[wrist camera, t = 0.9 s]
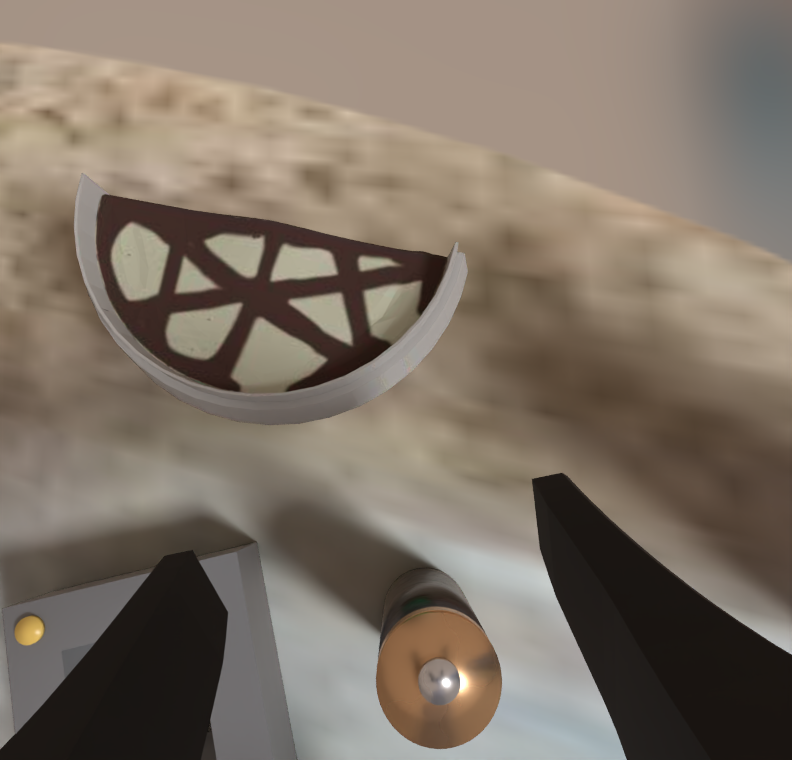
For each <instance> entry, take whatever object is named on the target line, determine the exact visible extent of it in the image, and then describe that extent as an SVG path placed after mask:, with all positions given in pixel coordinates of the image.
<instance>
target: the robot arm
mask: <svg viewBox="0 0 792 760" xmlns="http://www.w3.org/2000/svg"><path fill="white" fill-rule="evenodd" d="M532 483H533V492H534V501H535V509H536V518H537V527H538V535H539V544H540V550H541V553H542V556H543V559H544V562H545V565H546V568H547V572H548V575H549V577H550V580H551V583H552V586H553V589H554V592H555V595H556V597H557V600H558V602H559V604H560V606H561V609H562V611H563V613H564V615H565V617H566V620H567V622H568V624H569V626H570V628H571V631H572V633H573V635H574V637H575V639H576V641H577V644H578V646H579V648H580V650H581V652H582V654H583V657H584V659H585V661H586V663H587V665H588V667H589V670H590V672H591V674H592V676H593V678H594V681H595V683H596V685H597V687H598V689H599V691H600V694H601V696H602V698H603V700H604V702H605V704H606V707H607V709H608V712H609V714H610V716H611V719H612V721H613V724H614V726H615V728H616V731H617V734H618V736H619V739H620V742H621V745H622V747H623V750H624V753H625V756H626V758H627V760H792V655H791V654H790V653H788V652H786V651H784V650H783V649H781V648H779V647H778V646H776V645H775V644H773V643H771V642H770V641H768V640H767V639H765V638H764V637H762V636H761V635H759V634H758V633H756V632H755V631H753V630H752V629H750V628H749V627H747V626H745V625H744V624H742V623H741V622H739V621H738V620H736V619H735V618H734V617H732V616H731V615H729V614H728V613H726V612H725V611H723V610H722V609H721V608H719V607H718V606H716V605H715V604H713V603H712V602H711V601H709V600H708V599H707V598H705V597H704V596H702V595H701V594H700V593H698V592H697V591H696V590H694V589H693V588H692V587H690V586H689V585H688V584H686V583H685V582H684V581H682V580H681V579H680V578H679V577H677V576H676V575H675V574H674V573H672V572H671V571H670V570H669V569H667V568H666V567H665V566H663V565H662V564H661V563H660V562H659V561H657V560H656V559H655V558H654V557H653V556H651V555H650V554H649V553H648V552H646V551H645V550H644V549H643V548H642V547H641V546H640V545H638V544H637V543H636V542H635V541H634V540H633V539H632V538H630V537H629V536H628V535H627V534H626V533H625V532H624V531H622V530H621V529H620V528H619V527H618V526H617V525H616V524H615V523H614V522H613V521H611V520H610V519H609V518H608V517H607V516H606V515H605V514H604V513H603V512H602V511H601V510H600V509H599V508H598V507H597V506H596V505H595V504H594V503H593V502H592V501H591V500H590V499H589V498H588V497H587V496H586V495H585V494H584V493H583V492H582V491H581V490H580V489H579V488H578V487H577V486H576V485H575V484H574V483H573V482H572V481H571V480H570V478H569V477H568V476H566V475H565V474H563V473H559V474H554V475H549V476H544V477H539V478H535V479H532ZM227 621H228V611H227V609H226V607H225V606H224V604H223V602H222V600H221V599H220V597H219V595H218V593H217V592H216V590H215V588H214V587H213V585H212V583H211V581H210V580H209V578H208V576H207V574H206V573H205V571H204V569H203V567H202V566H201V564H200V562H199V560H198V559H197V557H196V555H195V553H194V552H193V550H191V551H186V552H181V553H176V554H172V555H167V556H164V558H163V559H162V560H161V561H160V562H159V563H158V565H157V566H156V567H155V568H154V569H153V571H152V572H151V573H150V574H149V576H148V577H147V578H146V579H145V581H144V582H143V583H142V584H141V586H140V587H139V588H138V590H137V591H136V592H135V593H134V595H133V596H132V597H131V598H130V600H129V601H128V602H127V604H126V605H125V606H124V607H123V609H122V610H121V611H120V612H119V614H118V615H117V616H116V617H115V619H114V620H113V621H112V622H111V624H110V625H109V626H108V627H107V629H106V630H105V631H104V632H103V634H102V635H101V636H100V637H99V639H98V640H97V641H96V642H95V644H94V645H93V646H92V647H91V649H90V650H89V651H88V652H87V653H86V655H85V656H84V657H83V658H82V659H81V660H80V662H79V663H78V664H77V665H76V666H75V667H74V669H73V670H72V671H71V672H70V673H69V674H68V676H67V677H66V678H65V679H64V680H63V681H62V683H61V684H60V685H59V686H58V687H57V688H56V690H55V691H54V692H53V693H52V694H51V695H50V697H49V698H48V699H47V700H46V701H45V702H44V704H43V705H42V706H41V707H40V708H39V709H38V710H37V711H36V712H35V713H34V715H33V716H32V717H31V718H30V719H29V720H28V721H27V722H26V723H25V724H24V725H23V726H22V728H21V729H20V730H19V731H18V732H17V733H16V734H15V735H14V736H13V737H12V738H11V739H10V740H9V741H8V742H7V743H6V744H5V745H4V746H3V747H2V748H1V749H0V760H201V757H202V753H203V748H204V744H205V740H206V736H207V731H208V727H209V723H210V719H211V714H212V710H213V706H214V701H215V697H216V693H217V688H218V684H219V679H220V675H221V670H222V665H223V659H224V651H225V643H226V633H227Z"/></svg>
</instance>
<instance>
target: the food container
mask: <svg viewBox="0 0 792 760" xmlns="http://www.w3.org/2000/svg"><path fill="white" fill-rule="evenodd" d="M74 233H75V243H76V253H77V258H78V261H79V265H80V268H81V272H82V276H83V279H84V283H85V285H86V288H87V291H88V295H89V297H90V299H91V301H92V303H93V305H94V307H95V309H96V311H97V314H98V316H99V318H100V320H101V322H102V323H103V324H104V326H105V327H106V329H107V330H108V331H109V333H110V334H111V336H112V337H113V338H114V340H115V341H116V343H117V344H118V345H119V346H120V348H121V349H122V350H123V351H124V352H125V353H126V354H127V355H128V356H129V357H130V358H131V359H132V360H133V362H134V363H135V364H136V365H137V366H138V367H139V368H140V369H142V370H143V371H144V372H145V373H146V374H147V375H148V376H149V377H150V378H151V379H152V380H153V381H154V382H155V383H156V384H157V385H159V386H160V387H162V388H163V389H165V390H166V391H167V392H169V393H170V394H172V395H173V396H175V397H176V398H177V399H179V400H181V401H183V402H185V403H187V404H189V405H191V406H193V407H195V408H198V409H200V410H202V411H204V412H206V413H209V414H212V415H216V416H219V417H223V418H227V419H230V420H234V421H237V422H246V423H255V424H264V425H279V424H300V423H305V422H310V421H314V420H319V419H324V418H329V417H332V416H335V415H338V414H340V413H343V412H346V411H348V410H351V409H354V408H356V407H359V406H361V405H363V404H365V403H366V402H368V401H370V400H372V399H374V398H375V397H377V396H379V395H381V394H382V393H384V392H386V391H388V390H389V389H390V388H391V387H393V386H394V385H395V384H396V383H398V382H399V381H400V380H402V379H403V378H404V377H405V376H407V375H408V374H409V373H410V372H412V371H413V369H414V368H415V367H416V366H417V365H418V364H419V363H420V362H421V361H422V360H423V359H424V358H425V356H426V355H427V354H428V353H429V352H430V351H431V350H432V349H433V347H434V346H435V344H436V343H437V341H438V340H439V338H440V337H441V335H442V334H443V332H444V331H445V329H446V328H447V326H448V325H449V323H450V320H451V318H452V316H453V314H454V312H455V309H456V307H457V305H458V303H459V301H460V298H461V295H462V292H463V288H464V284H465V281H466V277H467V273H468V270H467V264H466V258H465V253H461V252H457V250H458V242H455V244H454V246H453V248H452V250H451V252H450V254H449V256H448V257H443V256H439V255H433V254H430V253H427V252H423V251H408V250H401V249H394V248H389V247H384V246H379V245H374V244H369V243H364V242H359V241H355V240H350V239H346V238H341V237H337V236H332V235H328V234H324V233H320V232H316V231H312V230H309V229H305V228H301V227H296V226H292V225H288V224H284V223H279V222H275V221H271V220H264V219H256V218H249V217H241V216H231V215H222V214H215V213H208V212H201V211H194V210H188V209H182V208H177V207H172V206H166V205H161V204H155V203H150V202H144V201H139V200H133V199H128V198H123V197H117V196H112V195H109V194H108V193H107V192H106V191H105V190H103V189H102V188H101V187H100V186H99V185H97V184H96V183H95V182H94V181H93V180H91V179H90V178H89V177H88V176H87V175H86V174H84V173H82V174H81V178H80V182H79V187H78V191H77V195H76V202H75V217H74Z"/></svg>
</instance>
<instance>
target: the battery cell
mask: <svg viewBox="0 0 792 760" xmlns="http://www.w3.org/2000/svg"><path fill="white" fill-rule="evenodd" d="M376 687H377V694H378V698H379V702H380V705H381V707H382V710H383V712H384V714H385V715H386V717H387V719H388V720H389V722H390V723H391V724H392V726H393V727H394V728H395V729H396V730H397V731H398V732H399V733H400V734H401V735H403V736H404V737H405V738H406V739H408V740H410V741H412V742H413V743H416V744H418V745H420V746H424V747H428V748H434V749H447V748H452V747H456V746H459V745H462V744H464V743H466V742H468V741H470V740H472V739H473V738H474V737H476V736H477V735H478V734H479V733H480V732H482V731H483V730H484V728H485V727H486V726H487V725H488V724H489V722H490V721H491V719H492V717H493V716H494V713H495V711H496V709H497V707H498V703H499V700H500V695H501V688H502V676H501V669H500V664H499V661H498V657H497V655H496V652H495V650H494V648H493V646H492V644H491V643H490V641H489V639H488V637H487V635H486V634H485V632H484V630H483V628H482V626H481V624H480V623H479V621H478V619H477V617H476V615H475V614H474V612H473V610H472V608H471V606H470V605H469V603H468V601H467V599H466V597H465V595H464V594H463V592H462V590H461V589H460V587H459V585H458V584H457V583H456V582H455V581H454V580H453V579H452V578H451V577H450V576H448V575H447V574H445V573H443V572H441V571H439V570H436V569H432V568H419V569H414V570H411V571H409V572H407V573H405V574H403V575H402V576H400V577H399V578H398V579H397V580H396V581H395V582H394V583H393V585H392V586H391V587H390V589H389V591H388V593H387V596H386V598H385V602H384V609H383V619H382V628H381V637H380V646H379V655H378V664H377V674H376Z"/></svg>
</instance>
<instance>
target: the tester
mask: <svg viewBox="0 0 792 760" xmlns="http://www.w3.org/2000/svg"><path fill="white" fill-rule="evenodd" d="M197 559H198V560H199V562H200V564H201V566H202V567H203V569H204V571H205V573H206V574H207V576H208V578H209V580H210V581H211V583H212V585H213V587H214V588H215V590H216V592H217V593H218V595H219V597H220V599H221V600H222V602H223V604H224V606H225V607H226V609H227V611H228V621H227V633H226V643H225V651H224V659H223V665H222V670H221V675H220V679H219V684H218V688H217V693H216V697H215V701H214V706H213V710H212V714H211V719H210V721H211V728H212V731H210V732H207V736H206V740H205V744H204V748H203V753H202V757H201V760H297V757H296V752H295V746H294V741H293V735H292V730H291V724H290V719H289V714H288V708H287V703H286V697H285V692H284V687H283V681H282V676H281V670H280V665H279V659H278V654H277V649H276V643H275V638H274V632H273V627H272V622H271V616H270V611H269V605H268V600H267V594H266V589H265V584H264V578H263V573H262V567H261V562H260V556H259V551H258V546H257V542H255V543H251V544H247V545H243V546H238V547H234V548H230V549H226V550H222V551H218V552H214V553H210V554H205V555H201V556H197ZM154 568H155V567H152V568H148V569H144V570H139V571H135V572H131V573H127V574H123V575H119V576H115V577H110V578H106V579H102V580H98V581H94V582H90V583H86V584H82V585H77V586H73V587H69V588H65V589H61V590H57V591H53V592H50V593H47V594H44V595H41V596H38V597H35V598H32V599H29V600H26V601H23V602H20V603H17V604H14V605H11V606H8V607H5V608H2V612H3V621H4V631H5V641H6V651H7V660H8V670H9V680H10V689H11V699H12V709H13V718H14V728H15V734H16V733H17V732H18V731H19V730H20V729H21V728H22V726H23V725H24V724H25V723H26V722H27V721H28V720H29V719H30V718H31V717H32V716H33V715H34V713H35V712H36V711H37V710H38V709H39V708H40V707H41V706H42V705H43V704H44V702H45V701H46V700H47V699H48V698H49V697H50V695H51V694H52V693H53V692H54V691H55V690H56V688H57V687H58V686H59V685H60V684H61V683H62V681H63V680H64V679H65V678H66V677H67V676H68V674H69V673H70V672H71V671H72V670H73V669H74V667H75V666H76V665H77V664H78V663H79V662H80V660H81V659H82V658H83V657H84V656H85V655H86V653H87V652H88V651H89V650H90V649H91V647H92V646H93V645H94V644H95V642H96V641H97V640H98V639H99V637H100V636H101V635H102V634H103V632H104V631H105V630H106V629H107V627H108V626H109V625H110V624H111V622H112V621H113V620H114V619H115V617H116V616H117V615H118V614H119V612H120V611H121V610H122V609H123V607H124V606H125V605H126V604H127V602H128V601H129V600H130V598H131V597H132V596H133V595H134V593H135V592H136V591H137V590H138V588H139V587H140V586H141V584H142V583H143V582H144V581H145V579H146V578H147V577H148V576H149V574H150V573H151V572H152V571H153V569H154Z"/></svg>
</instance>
